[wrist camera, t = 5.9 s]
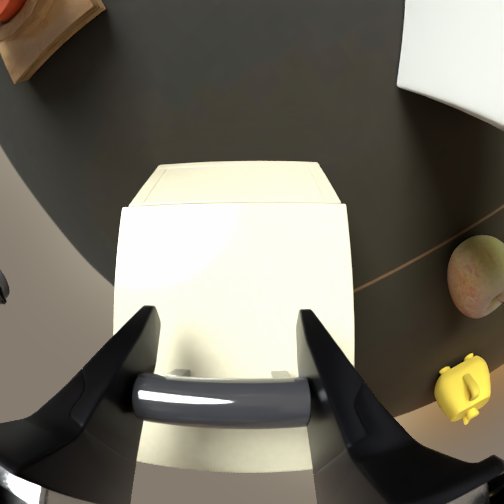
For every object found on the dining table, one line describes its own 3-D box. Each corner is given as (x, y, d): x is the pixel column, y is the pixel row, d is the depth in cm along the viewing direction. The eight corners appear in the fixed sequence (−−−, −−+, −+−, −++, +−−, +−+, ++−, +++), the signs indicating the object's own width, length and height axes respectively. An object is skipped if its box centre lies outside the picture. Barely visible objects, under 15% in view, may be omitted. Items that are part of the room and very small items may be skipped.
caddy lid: (343, 457, 11) (382, 513, 6) (129, 452, 11) (81, 499, 6) (341, 209, 14) (383, 154, 8) (128, 212, 14) (75, 163, 8)
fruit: (458, 214, 20) (509, 273, 14) (499, 229, 21) (542, 280, 15) (422, 278, 25) (455, 342, 18) (465, 284, 25) (497, 338, 19)
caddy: (302, 289, 25) (311, 343, 20) (182, 290, 25) (170, 342, 20) (317, 161, 18) (341, 202, 13) (158, 164, 18) (128, 205, 13)
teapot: (473, 373, 42) (489, 414, 34) (430, 395, 46) (442, 438, 37) (485, 334, 33) (510, 387, 24) (429, 364, 36) (449, 422, 28)
